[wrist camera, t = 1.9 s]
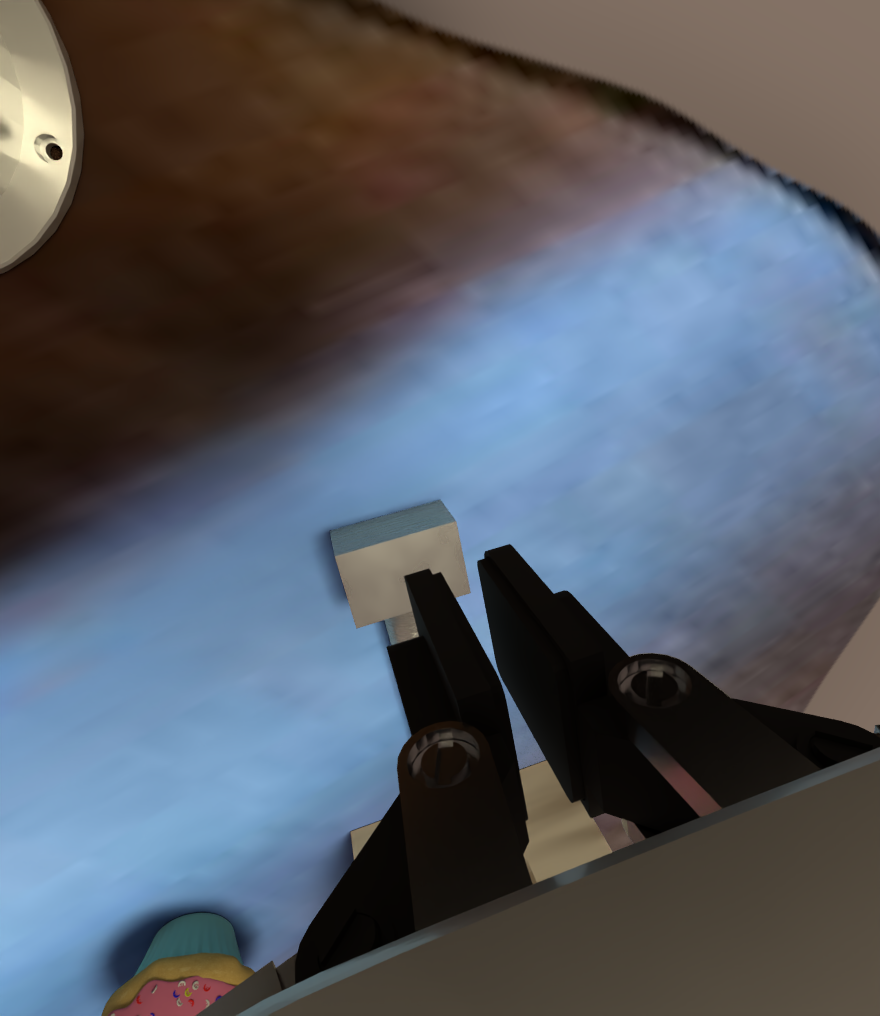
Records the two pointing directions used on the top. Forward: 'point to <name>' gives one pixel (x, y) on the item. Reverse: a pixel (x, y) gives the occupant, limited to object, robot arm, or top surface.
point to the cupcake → (183, 970)
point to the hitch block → (543, 827)
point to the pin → (397, 563)
